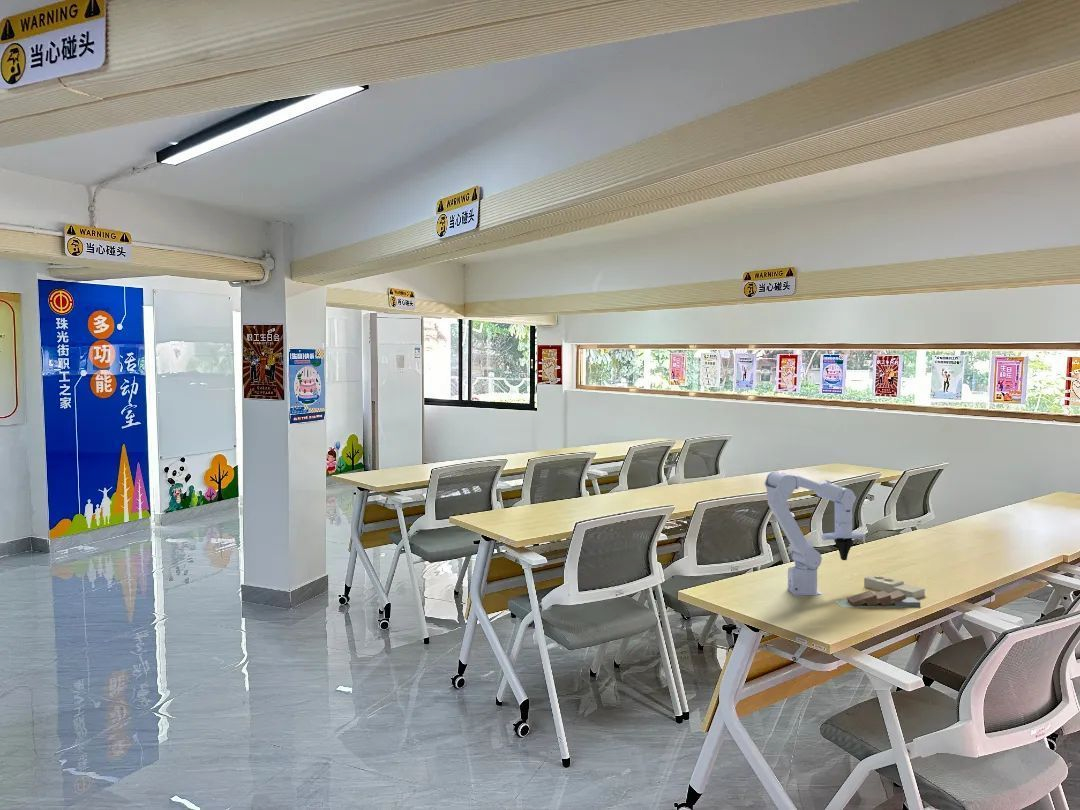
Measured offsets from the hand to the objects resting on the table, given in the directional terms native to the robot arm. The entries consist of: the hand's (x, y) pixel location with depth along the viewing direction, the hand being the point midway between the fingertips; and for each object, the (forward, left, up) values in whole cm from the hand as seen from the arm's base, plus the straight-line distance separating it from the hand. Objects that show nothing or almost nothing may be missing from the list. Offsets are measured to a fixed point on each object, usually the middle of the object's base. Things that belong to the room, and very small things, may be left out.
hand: (843, 559), depth 258 cm
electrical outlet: (+16, -4, -11) cm, 20 cm away
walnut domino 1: (-5, -18, -9) cm, 21 cm away
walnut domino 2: (0, -18, -9) cm, 20 cm away
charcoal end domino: (+9, -18, -9) cm, 22 cm away
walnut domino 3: (+5, -18, -10) cm, 21 cm away
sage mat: (+2, -18, -10) cm, 20 cm away
